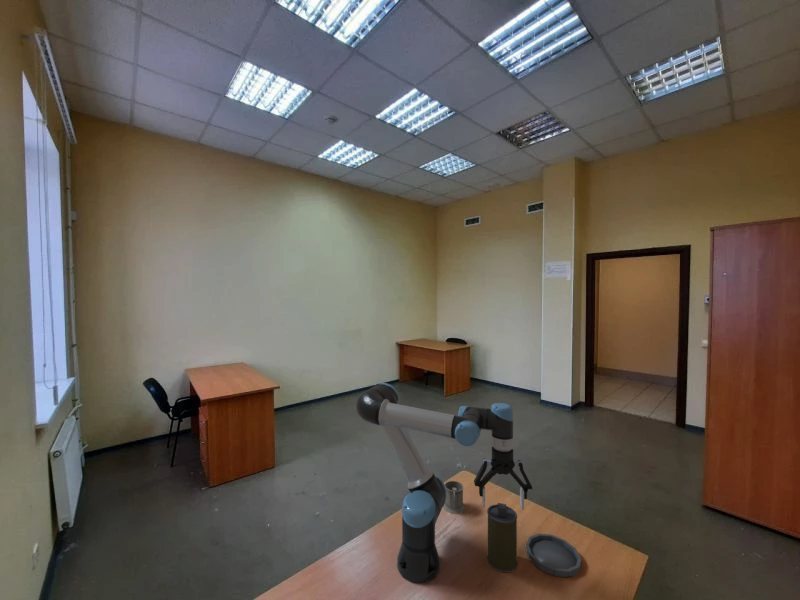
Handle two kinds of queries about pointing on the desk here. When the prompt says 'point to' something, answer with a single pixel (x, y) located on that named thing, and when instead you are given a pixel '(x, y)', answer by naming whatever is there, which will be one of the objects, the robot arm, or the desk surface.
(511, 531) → the canister
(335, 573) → the desk surface
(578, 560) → the round tray
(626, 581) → the desk surface
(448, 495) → the mug
